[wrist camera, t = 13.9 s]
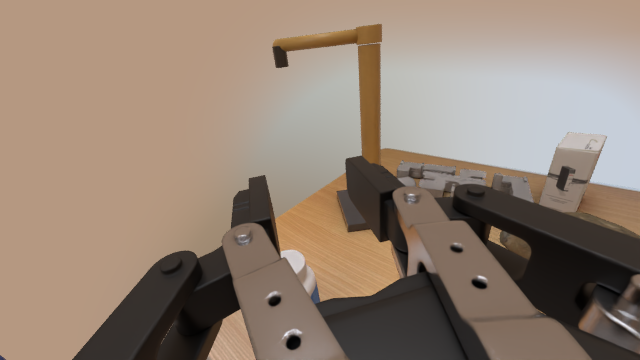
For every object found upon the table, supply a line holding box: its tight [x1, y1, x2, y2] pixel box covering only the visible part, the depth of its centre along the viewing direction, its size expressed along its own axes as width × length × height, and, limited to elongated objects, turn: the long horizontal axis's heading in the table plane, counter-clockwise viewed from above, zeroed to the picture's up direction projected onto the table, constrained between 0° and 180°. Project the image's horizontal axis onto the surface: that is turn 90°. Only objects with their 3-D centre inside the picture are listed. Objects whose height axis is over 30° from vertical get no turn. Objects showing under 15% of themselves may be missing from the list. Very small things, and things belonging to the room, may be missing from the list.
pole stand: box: [337, 190, 370, 232], centre depth 51 cm, size 12×12×2 cm
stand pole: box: [358, 44, 381, 165], centre depth 44 cm, size 3×3×27 cm
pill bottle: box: [280, 250, 320, 304], centre depth 30 cm, size 6×5×10 cm
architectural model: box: [397, 160, 534, 203], centre depth 53 cm, size 12×25×5 cm, turn 61°
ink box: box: [539, 132, 607, 212], centre depth 44 cm, size 8×5×12 cm, turn 132°
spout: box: [272, 24, 382, 68], centre depth 39 cm, size 16×4×4 cm, turn 82°
